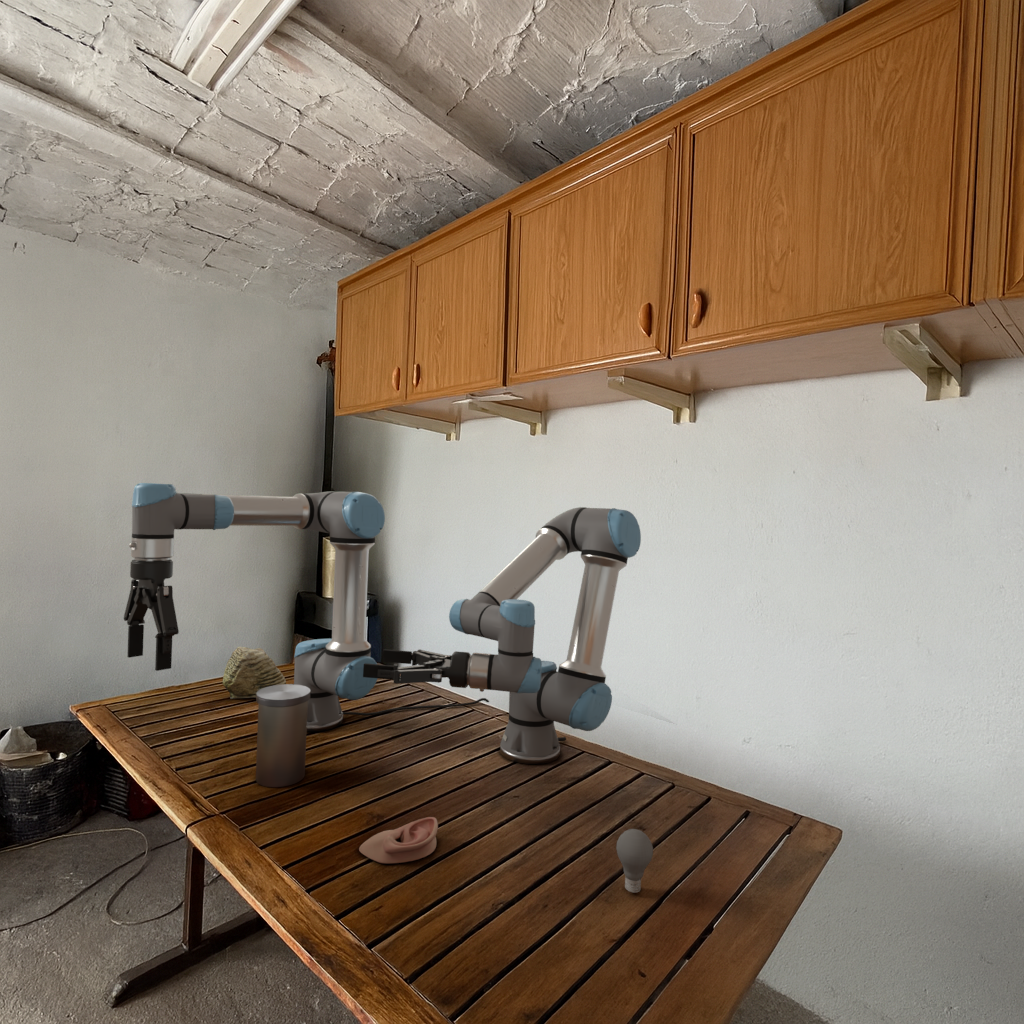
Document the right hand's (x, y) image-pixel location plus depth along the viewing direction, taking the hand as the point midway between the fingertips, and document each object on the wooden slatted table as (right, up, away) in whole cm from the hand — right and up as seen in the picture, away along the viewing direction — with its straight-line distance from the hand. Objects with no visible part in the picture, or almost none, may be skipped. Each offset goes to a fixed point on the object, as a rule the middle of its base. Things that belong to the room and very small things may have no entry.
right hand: (373, 662), depth 139 cm
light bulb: (+50, -30, -33) cm, 67 cm away
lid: (-21, -8, +3) cm, 23 cm away
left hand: (-44, +2, -9) cm, 45 cm away
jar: (-22, -27, +4) cm, 34 cm away
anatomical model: (+10, -28, -23) cm, 38 cm away
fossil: (-50, -24, +59) cm, 82 cm away
